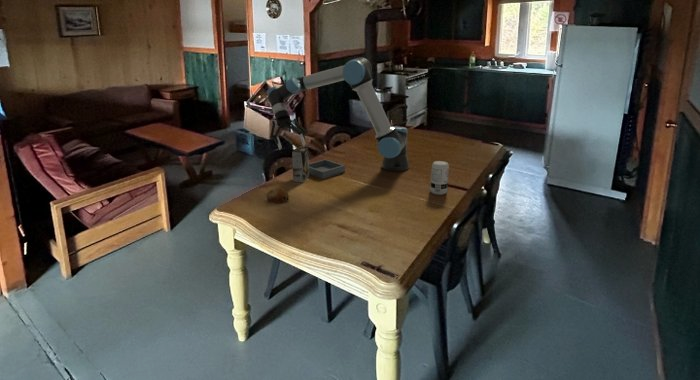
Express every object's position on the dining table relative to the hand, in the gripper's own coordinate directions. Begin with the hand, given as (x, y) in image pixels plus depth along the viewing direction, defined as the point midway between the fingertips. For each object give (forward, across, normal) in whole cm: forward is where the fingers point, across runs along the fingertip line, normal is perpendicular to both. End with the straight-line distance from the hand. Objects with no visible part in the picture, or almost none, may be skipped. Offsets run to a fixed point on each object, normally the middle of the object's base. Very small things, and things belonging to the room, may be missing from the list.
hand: (292, 147), depth 263 cm
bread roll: (+33, +20, +10) cm, 40 cm away
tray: (+14, -16, -8) cm, 23 cm away
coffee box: (+17, 0, -5) cm, 18 cm away
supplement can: (+52, -52, +30) cm, 80 cm away
